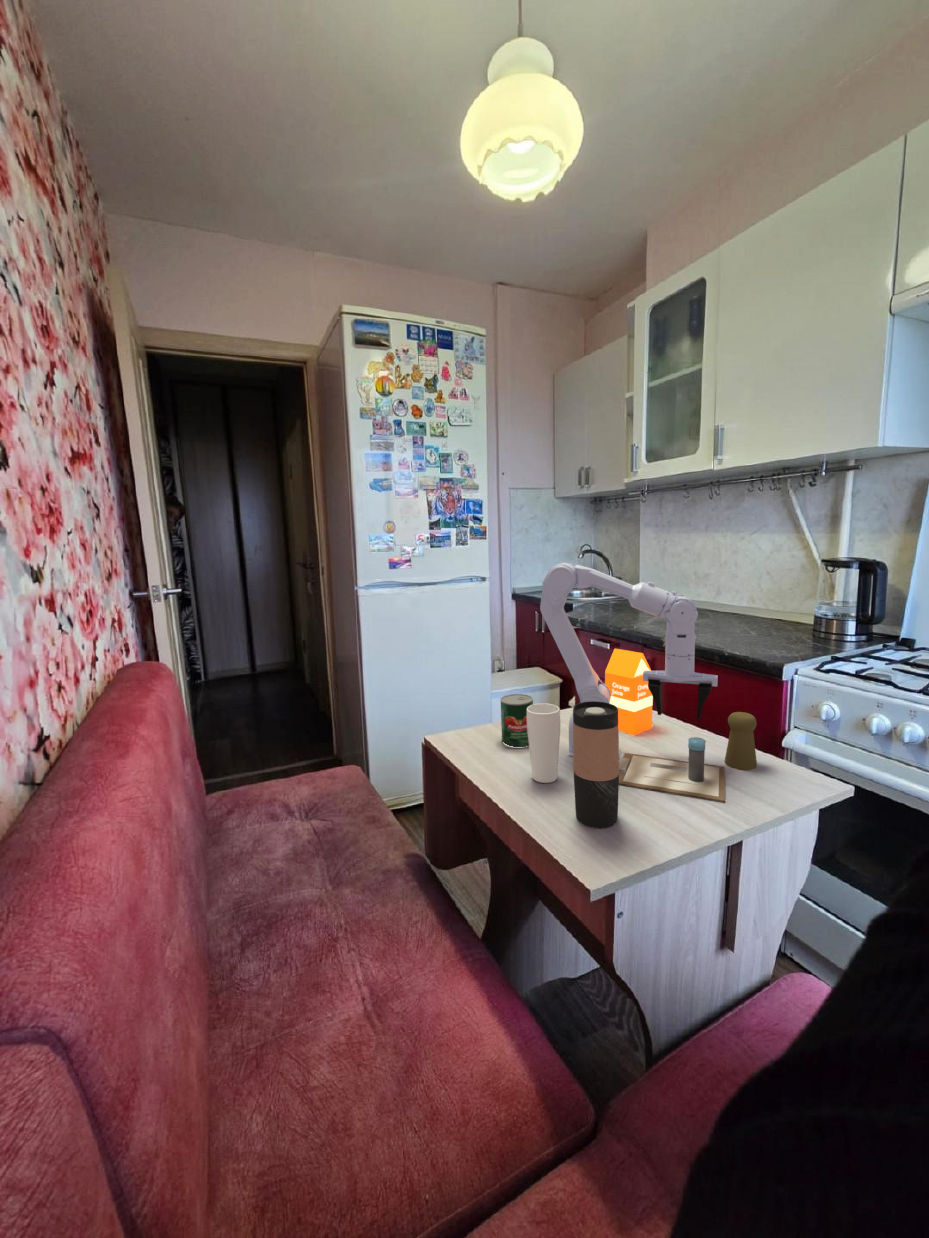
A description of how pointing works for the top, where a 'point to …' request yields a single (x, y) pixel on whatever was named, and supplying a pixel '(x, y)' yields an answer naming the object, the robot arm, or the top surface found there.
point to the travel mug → (596, 763)
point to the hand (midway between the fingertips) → (678, 715)
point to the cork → (741, 742)
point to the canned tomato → (515, 719)
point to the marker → (696, 759)
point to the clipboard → (671, 777)
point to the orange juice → (630, 691)
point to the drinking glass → (543, 741)
